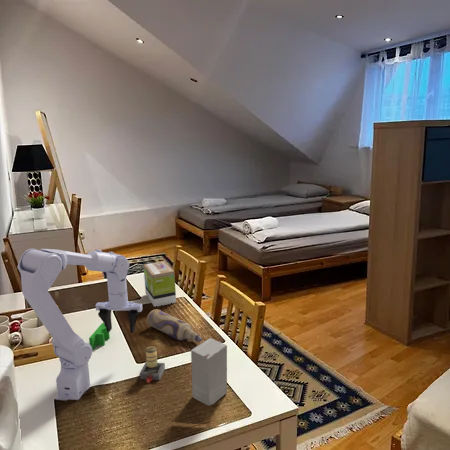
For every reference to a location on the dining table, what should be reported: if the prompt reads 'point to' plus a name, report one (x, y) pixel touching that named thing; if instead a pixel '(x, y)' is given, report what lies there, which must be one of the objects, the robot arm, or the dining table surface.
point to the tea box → (159, 283)
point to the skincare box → (209, 371)
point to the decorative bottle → (172, 326)
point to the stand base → (151, 375)
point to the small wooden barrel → (151, 356)
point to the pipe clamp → (99, 336)
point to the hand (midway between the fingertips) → (121, 331)
